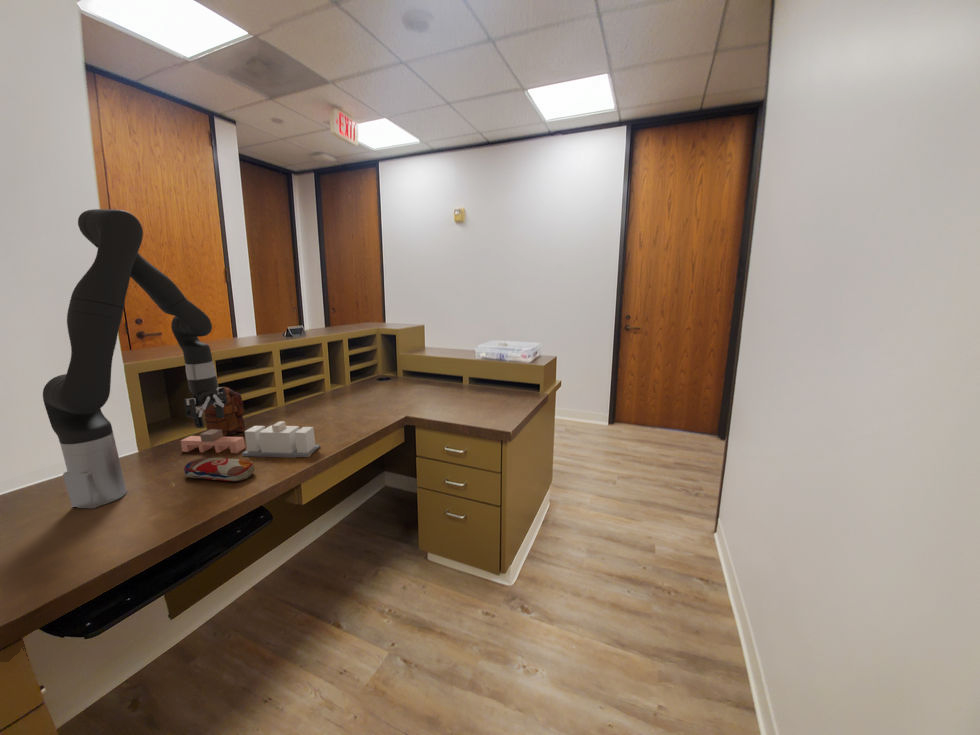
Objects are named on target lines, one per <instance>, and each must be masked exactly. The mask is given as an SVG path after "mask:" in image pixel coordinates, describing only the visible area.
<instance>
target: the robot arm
mask: <svg viewBox="0 0 980 735" xmlns="http://www.w3.org/2000/svg"><path fill="white" fill-rule="evenodd" d="M77 226H78V229H79V231H80V232H81V235H83V236H84V237H85V239H86V240H88V241H89V242H90V243H91V244H93V245H94V246H95V247H96V248H97V252H96V255H95V258H94V261H93V263H92V264H91V266H90V267H89V269H88V270H87V271H86V272H85V273H84V275H83V276H82V277H81V278H80V280H79V281H78V283H76V285H75V287H74V289H73V291H72V293H71V297H70V299H69V304H68V305H69V306H68V308H67V314H66V325H67V333H68V337H69V338H68V339H69V341H70V342H69V343H70V349H71V353H70V360H69V364H68V367H67V371H66V373H65V374H60V375H57V376H54V377H52V378H51V379H50V380H48V382H47V383H46V384H45V385H44V387H43V390H42V399H43V403H44V408H45V412H46V414H47V416H48V420H49V423H50V425H51V428H52V430H53V432H54V433H55V435H57V438H58V442H59V445H60V449H61V452H62V456H63V459H64V464H65V467H66V471H65V472H63V474H62V476H63V480H64V483H65V487H66V490H67V495H68V498H69V501H70V506H71V508H72V507H77V508H76V509H96V508H98V507H100V506H103V505H107V504H109V503H112V502H114V501H117V500H119V499H121V498H122V497H124V496H125V495H126V494H127V492H128V491H127V486H126V483H125V478H124V473H123V469H122V465H121V460H120V456H119V451H118V447H117V444H116V443H117V442H116V439H115V434H114V431H113V427H112V423H111V422H110V420H108V419H107V417H105V414H103V412H102V408H103V407H104V405H106V403H107V402H108V400H109V397H110V394H111V383H112V380H111V379H112V367H113V358H114V353H115V350H116V345H117V341H118V335H119V332H120V331H119V330H120V328H121V327H120V326H121V323H122V318H123V314H124V308H125V301H126V296H127V293H128V288H129V284H130V280H131V279H130V278H132V280H133V281H134V282H135V283H136V284H137V285H138V286H139V287H140V288H141V289H142V291H144V292H145V293H146V294H147V296H149V297H150V299H151V300H152V301H153V302H154V303H155V305H156V306H158V307H159V309H160V310H161V311H162V312H163V313H164V314H167V315H170V316H173V318H172V321H171V322H170V323H171V325H170V326H171V331H172V333H173V336H174V338H175V341H176V342H177V344H178V345H179V347H180V349H181V350H182V352H183V359H184V365H185V374H186V379H187V380H186V381H187V385H188V390H189V392H190V393H192V397H191V398H184V399H183V403H184V410H185V415H186V417H187V418H193V422H194V423H193V424H194V426H195V427H196V428H197V429H203V428H205V423H204V418H203V413H204V410H205V409H206V407H208V406H209V405H214V406H215V407H216V408H215V411H216V417H217V418H224V410H223V407H224V405H225V404H227V403H228V401H227V397H226V392H225V388H222V387H223V386H219V384H218V382H219V381H218V378H217V373H216V372H217V371H216V368H215V364H214V361H213V357H212V356H213V355H212V351H211V347H210V345H209V344H207V343H205V342H201V340H200V339H199V337H206V336H208V335H209V334H211V332H212V329H213V324H212V320H211V319H210V318H209V316H208V315H207V314H206V313H205V312H204V311H202V310H201V309H200V308H199V307H198V306H196V305H195V304H194V303H193V302H191V301H190V300H189V299H187V297H186V296H185V295H184V294H183V292H182V290H180V288H179V287H178V286H177V285H176V284H175V282H173V281H172V279H171V278H169V277H168V275H166V274H164V273H163V272H162V271H160V270H159V269H158V268H157V267H155V266H154V265H153V264H152V263H150V262H149V261H148V260H147V259H145V258H144V256H142V255H141V254H140V253H139V250H140V248H141V245H142V242H143V237H144V231H143V227H142V226H143V225H142V224H141V221H140V220H139V219H138V218H137V217H136V216H135V215H134V214H132V213H131V212H129V211H126V210H121V209H114V208H112V209H111V208H109V209H108V208H107V209H105V208H100V209H99V208H94V209H88V210H85V211H83V212H81V214H80V215H79V217H78V219H77ZM218 387H219V388H218ZM222 398H223V400H222Z"/></svg>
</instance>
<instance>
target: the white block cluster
mask: <svg viewBox="0 0 980 735" xmlns="http://www.w3.org/2000/svg"><path fill="white" fill-rule="evenodd" d="M244 439H245V444H246V445H245V446H246V450H245V451H243V452H242V453H241V456H242V457H264V458H266V457H267V458H269V457H270V458H296V457H308V456H309V455H310V454H311V453H313V452H314V451H315V450H316V449H317V448H319V447H320V448H321V444H316V438H315V431H314V426H302V427H300V425H299V426H298V425H286V421H283V420H282V421H281V420H280V421H277V422H276V423H274V424H271V425H269V426H267V427H266V426H265V425H254V426H252V427H249V428H248V429H245V431H244ZM320 448H319V449H320ZM316 451H317V450H316ZM316 451H315V452H316ZM315 452H314V453H315ZM314 453H313V454H314ZM310 456H311V455H310ZM310 456H309V457H310ZM309 457H308V458H309Z"/></svg>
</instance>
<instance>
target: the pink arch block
mask: <svg viewBox="0 0 980 735" xmlns="http://www.w3.org/2000/svg"><path fill="white" fill-rule="evenodd" d="M245 444H246V443H245V436H244V437H243V436H225V437H223V434H222V430H220V429H210V430H208V431H207V430H206V431H204V432H202V433H200V435H190V436H186V437H185V438H183V439H180V445H181V452H184V453H189V452H191V451H193V450H195V449H197V448H199V449H198V450H199V453H204V452H206V451H208V450H210V449H213V447H214V450H215V453H216V454H218V453H221V452H223V451H224V450H227V449H228V448H229V450H230V453H231V454H238V453H240V452H241V451H242V450H244V449H246V445H245Z"/></svg>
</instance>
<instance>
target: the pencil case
mask: <svg viewBox="0 0 980 735" xmlns="http://www.w3.org/2000/svg"><path fill="white" fill-rule="evenodd" d="M183 470H184V475H183V476H184V477H186V478H189V479H190V478H192V479H205V480H210V481H211V480H213V481H224V482H241V481H244V480H247V479H248V478H249V477H250V476H251V475H252V474H253V473H254V471H255V466H254V463H253V461H252V460H249V459H240V458H239V459H238V458H227V457H226V458H225V457H205V458H198V459H193V460H191V461H189V462H187V463H186V464H185V465H184V468H183Z"/></svg>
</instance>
